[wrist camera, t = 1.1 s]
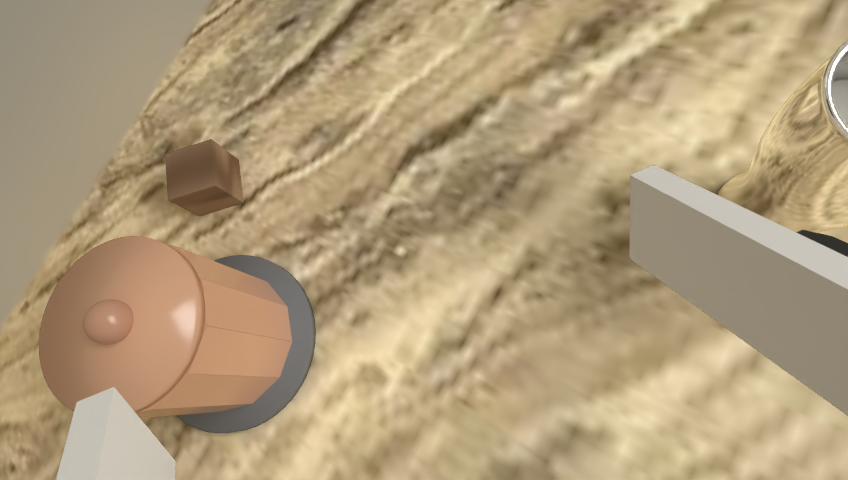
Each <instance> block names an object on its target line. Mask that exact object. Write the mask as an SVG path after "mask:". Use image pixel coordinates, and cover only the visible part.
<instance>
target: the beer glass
mask: <svg viewBox="0 0 848 480" xmlns="http://www.w3.org/2000/svg"><path fill="white" fill-rule="evenodd" d="M717 195H718V196H720V197H723V198H725V199H727V200H729V201H731V202H733V203H735V204H737V205H739V206H741V207H744V208H746V209H748V210H750V211H752V212H754V213H756V214H758V215H760V216H762V217H765V218H767V219H769V220H771V221H773V222H775V223H777V224H779V225H781V226H783V227H786V228H788V229H790V230H792V231H794V232H798V231H800V230H802V229H803V230H807V231H811V232H815V233H819V232H822V231H826V230H831V229H836V228H841V227H845V226H848V40H847V41H846V42H844V43H843V44H842V45H841V46H840V47H839V48H838V49H837V50H836V52H835V53H834V54H833V55H832V56H831V57H830V58H829V59H828V60H827V61H826V62H824V63H823V64H822V65H821V66H820V67H819V68H818V69H817V70H816V71H815V72H814V73H813V74H812V75H810V76H809V77H808V78H807V79H806V80H805V81H804V82H803V83H802V84H801V85H800V86H799V87H798V88H797V90H796V91H795V92H794V93H793V94H792V95H791V96H790V97H789V98H788V99H787V100H786V102H785V103H784V104H783V106H782V107H781V108H780V109H779V111H778V112H777V113H776V115H775V116H774V117H773V119H772V120H771V122H770V124H769V125H768V127H767V129H766V131H765V133H764V134H763V136H762V138H761V140H760V142H759V145H758V147H757V149H756V151H755V154H754V156H753V159H752V161H751V164H750V166H749V168H748V169H747V170H746V171H744V172H742V173H740V174H738V175H736V176H734V177H733V178H731V179H730V180H729V181H727V182H726V183H725V184H724V185H723V186H722V188H721V189H720V190H719V192H718V194H717Z"/></svg>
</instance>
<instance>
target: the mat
mask: <svg viewBox="0 0 848 480" xmlns="http://www.w3.org/2000/svg"><path fill="white" fill-rule="evenodd" d="M215 262H217V263H220V264H223V265H225V266H228V267H230V268H233V269H236V270H238V271H241V272H243V273H246V274H248V275H251V276H254V277H256V278H259V279H261V280H264V281H267V282H268V283H269V284H270V286H271V287H272V288H273V289H274V291H275V292H276V293H277V294H278V296H279V297H280V298H281V299H282V300H283V302H284V303H285V304H286V305H287V307H288V314H289V322H290V329H291V336H292V344H291V347H290V350H289V352H288V355H287V358H286V361H285V364H284V367H283V370H282V373H281V375H280V378H279V379H278V380H277V381H276V382H275V383H274V384H273V385H272V386H270V387H269V388H268V389H267V390H266V391H265V392H264V393H263V394H262V395H261V396H260V397H259V398H258V399H257V400H256V401H255V402H254V403H253V404H249V405H245V406H241V407H237V408H233V409H229V410H225V411H221V412H211V413H198V414H184V415H177V416H178V417H179V418H180V419H181V420H183V421H184V422H185V423H187V424H189V425H191V426H193V427H195V428H197V429H200V430H203V431H207V432H214V433H230V432H237V431H243V430H247V429H250V428H253V427H256V426H258V425H260V424H262V423H264V422H266V421H268V420H269V419H271V418H272V417H274V416H275V415H276V414H278V413H279V412H280V411H281V410H282V409H283V408H285V406H286V405H287V404H288V403H289V402H290V401H291V400H292V399H293V397H294V396H295V395H296V393H297V392H298V390H299V389H300V387H301V385H302V383H303V382H304V380H305V378H306V376H307V373H308V371H309V368H310V365H311V362H312V358H313V354H314V348H315V334H316V330H315V320H314V315H313V311H312V307H311V304H310V302H309V299H308V297H307V295H306V293H305V291H304V289H303V288H302V287H301V285H300V284H299V282H298V281H297V280H296V279H295V278H294V277H293V276H292V275H291V274H290V273H289V272H287V271H286V270H285V269H283V268H282V267H280V266H278V265H276V264H275V263H272V262H270V261H268V260H265V259H262V258H259V257H254V256H246V255H237V256H229V257H224V258H220V259H218V260H215Z"/></svg>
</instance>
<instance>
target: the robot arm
mask: <svg viewBox="0 0 848 480" xmlns="http://www.w3.org/2000/svg"><path fill="white" fill-rule="evenodd" d="M630 259H631V260H632V261H634V262H635V263H636V264H638V265H639V266H640V267H642V268H643V269H645V270H646V271H647V272H649V273H650V274H652V275H653V276H654V277H656V278H657V279H659V280H660V281H661V282H663V283H664V284H665V285H667V286H668V287H670V288H671V289H672V290H674V291H675V292H677V293H678V294H679V295H681V296H682V297H684V298H685V299H686V300H688V301H689V302H690V303H692V304H693V305H695V306H696V307H697V308H699V309H700V310H702V311H703V312H704V313H706V314H707V315H709V316H710V317H711V318H713V319H714V320H715V321H717V322H718V323H720V324H721V325H722V326H724V327H725V328H727V329H728V330H729V331H731V332H732V333H734V334H735V335H736V336H738V337H739V338H740V339H742V340H743V341H745V342H746V343H747V344H749V345H750V346H752V347H753V348H754V349H756V350H757V351H758V352H760V353H761V354H763V355H764V356H765V357H767V358H768V359H770V360H771V361H772V362H774V363H775V364H777V365H778V366H779V367H781V368H782V369H783V370H785V371H786V372H788V373H789V374H790V375H792V376H793V377H795V378H796V379H797V380H799V381H800V382H802V383H803V384H804V385H806V386H807V387H808V388H810V389H811V390H813V391H814V392H815V393H817V394H818V395H820V396H821V397H822V398H824V399H825V400H827V401H828V402H829V403H831V404H832V405H833V406H835V407H836V408H838V409H839V410H840V411H842V412H843V413H845V414H846V415H847V416H848V243H846V242H844V241H841V240H839V239H837V238H835V237H832V236H828V235H824V234H820V233H815V232H811V231H807V230H803V229H802V230H800V231H798V232H794V231H792V230H790V229H788V228H786V227H783V226H781V225H779V224H777V223H775V222H773V221H771V220H769V219H767V218H765V217H762V216H760V215H758V214H756V213H754V212H752V211H750V210H748V209H746V208H744V207H741V206H739V205H737V204H735V203H733V202H731V201H729V200H727V199H725V198H723V197H720V196H718V195H716V194H714V193H712V192H710V191H708V190H706V189H704V188H702V187H699V186H697V185H695V184H693V183H691V182H689V181H687V180H685V179H683V178H681V177H678V176H676V175H674V174H672V173H670V172H668V171H666V170H664V169H662V168H660V167H657V166H655V165H653V166H651V167H648V168H646V169H644V170H641V171H639V172H636V173H634V174H631V175H630ZM56 480H175V460H174V459H173V458H172V457H171V455H170V454H169V453H168V452H167V451H166V449H165V448H164V447H163V446H162V444H161V443H160V442H159V441H158V440H157V438H156V437H155V436H154V435H153V434H152V432H151V431H150V430H149V429H148V427H147V426H146V425H145V424H144V423H143V421H142V420H141V419H140V418H139V416H138V415H137V414H136V413H135V412H134V410H133V409H132V408H131V407H130V406H129V404H128V403H127V402H126V401H125V399H124V398H123V397H122V396H121V395H120V393H119V392H118V391H117V390H116V388H115V387H112V388H110V389H107V390H105V391H103V392H100V393H98V394H95V395H93V396H90V397H88V398H85V399H83V400H81V401H78V402H77V403H76V407H75V410H74V414H73V418H72V422H71V425H70V429H69V433H68V437H67V440H66V444H65V448H64V452H63V455H62V459H61V463H60V467H59V470H58V474H57V478H56Z"/></svg>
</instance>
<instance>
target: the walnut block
mask: <svg viewBox="0 0 848 480" xmlns="http://www.w3.org/2000/svg"><path fill="white" fill-rule="evenodd" d="M165 160H166V174H167V189H168V200H169V201H171V202H173V203H175V204H177V205H179V206H181V207H183V208H185V209H187V210H189V211H191V212H193V213H195V214H197V215H199V216H202V215H206V214H209V213H212V212H215V211H219V210H222V209H225V208H229V207H232V206H235V205H238V204H242V203H244V202H243V193H242V185H241V176H240V167H239V160H238V159H237V158H235V157H234V156H233V155H231V154H230V153H229V152H227V151H226V150H225V149H223V148H222V147H221V146H219V145H218V144H217V143H215V142H214V141H213V140H212V139H210V140H207V141H204V142H201V143H198V144H195V145H192V146H188V147H185V148H182V149H179V150H176V151H173V152H170V153H167V154H165Z"/></svg>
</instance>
